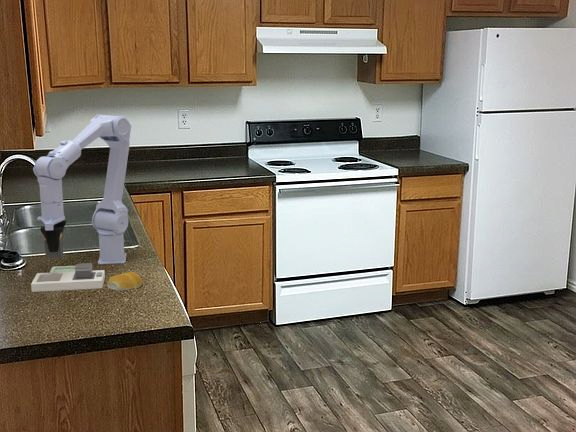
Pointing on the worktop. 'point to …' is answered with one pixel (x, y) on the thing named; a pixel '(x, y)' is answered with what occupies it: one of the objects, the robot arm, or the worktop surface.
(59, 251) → the plug
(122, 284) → the bread roll
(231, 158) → the worktop surface
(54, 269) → the tray
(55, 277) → the strip
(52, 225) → the robot arm
